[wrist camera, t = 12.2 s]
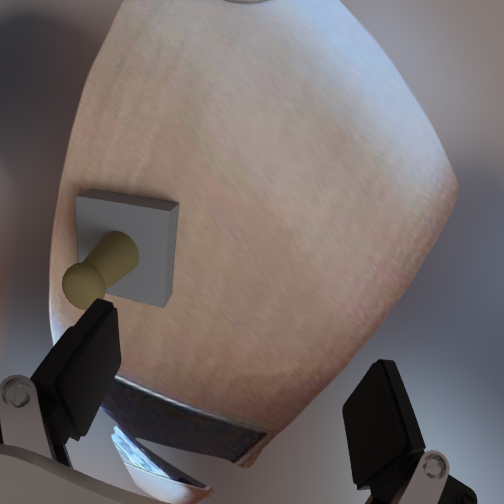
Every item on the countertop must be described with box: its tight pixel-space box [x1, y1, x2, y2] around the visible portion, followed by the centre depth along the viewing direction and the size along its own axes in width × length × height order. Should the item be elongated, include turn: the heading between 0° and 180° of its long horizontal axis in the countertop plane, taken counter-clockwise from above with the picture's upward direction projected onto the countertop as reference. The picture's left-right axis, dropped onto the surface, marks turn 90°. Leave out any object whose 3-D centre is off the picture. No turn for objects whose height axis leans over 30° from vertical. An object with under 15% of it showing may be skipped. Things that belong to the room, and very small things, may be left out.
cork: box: [62, 231, 139, 310], centre depth 31 cm, size 6×6×11 cm
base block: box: [76, 189, 179, 308], centre depth 38 cm, size 14×14×4 cm
